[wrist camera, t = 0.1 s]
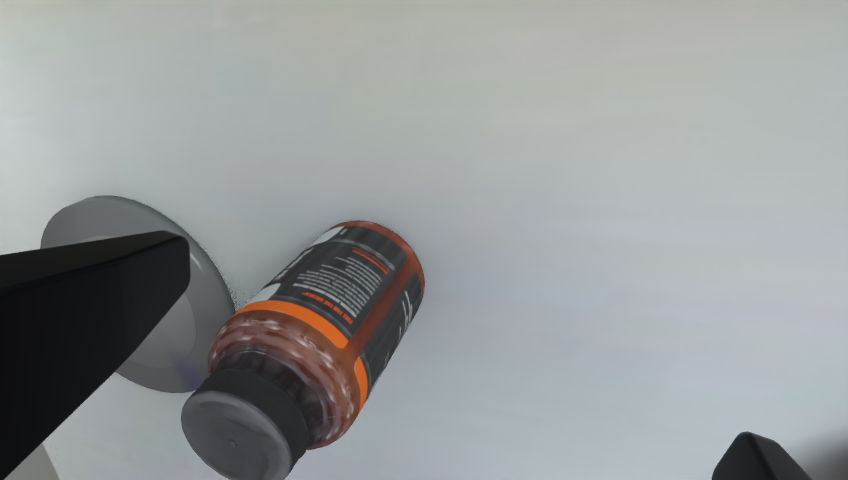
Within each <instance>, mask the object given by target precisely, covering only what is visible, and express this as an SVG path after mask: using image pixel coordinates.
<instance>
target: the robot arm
mask: <svg viewBox="0 0 848 480" xmlns="http://www.w3.org/2000/svg"><path fill="white" fill-rule="evenodd" d="M190 279H191V269H190V245H189V242H188V240H187V238H185V237H184V236H182V235H179V234H176V233H173V232H170V231H167V230H159V231H152V232H146V233H140V234H133V235H127V236H120V237H114V238H108V239H101V240H95V241H88V242H82V243H75V244H69V245H63V246H56V247H50V248H43V249H37V250H31V251H24V252H18V253H11V254H5V255H0V480H4V479H5V478H6V477H7V476H8V475H9V474H10V473H11V472H12V471H13V470H14V469H15V468H16V467H17V466H18V465H19V464H20V463H21V462H22V461H24V459H26V458H27V457H28V456H29V455H30V454H31V453H32V452H33V451H34V450H35V449H36V448H37V447H38V446H39V445H40V444H41V443H42V442H43V441H44V440H45V439H46V438H47V437H48V436H49V435H50V434H51V433H52V432H53V431H54V430H55V429H56V428H57V427H58V426H60V425H61V424H62V423H63V422H64V421H65V420H66V419H67V418H68V417H69V416H70V415H71V414H72V413H73V412H74V411H75V410H76V409H77V408H78V407H79V406H80V405H81V404H82V403H83V402H84V401H85V400H86V399H87V398H88V397H89V396H90V395H91V394H92V393H93V392H94V391H96V390H97V389H98V388H99V387H100V386H101V385H102V384H103V383H104V382H105V381H106V380H107V379H108V378H109V377H110V376H111V375H112V374H113V373H114V372H115V371H116V370H117V369H118V368H119V367H120V366H121V365H122V364H123V363H124V362H125V361H126V360H127V359H128V358H129V357H130V356H131V355H132V353H133V352H134V351H135V350H136V349H137V348H138V347H139V346H140V345H141V343H142V342H143V341H144V340H145V339H146V337H147V336H148V335H149V334H150V333H151V331H152V330H153V329H154V328H155V327H156V326H157V324H158V323H159V322H160V321H161V320H162V318H163V317H164V316H165V315H166V314H167V313H168V311H169V310H170V309H171V308H172V307H173V305H174V304H175V303H176V302H177V301H178V300H179V298H180V297H181V296H182V295H183V294H184V292H185V291H186V289H187V288H188V286H189V283H190ZM712 480H812V479H811V478H810V477H809V476H808V475H807V474H806V472H805V471H804V470H803V469H802V468H801V467H800V466H799V465H798V464H797V463H796V462H795V461H794V460H793V459H792V458H791V456H790V455H789V454H788V453H787V452H786V451H785V450H784V449H783V448H782V447H781V446H780V445H779V444H778V443H777V442H775V441H774V440H771V439H768V438H765V437H763V436H760V435H757V434H754V433H751V432H742V433H740V434H739V435H738V436H737V437H736V438H735V440H734V441H733V443H732V444H731V445H730V447H729V448H728V450H727V451H726V453H725V454H724V456H723V457H722V459H721V460H720V462H719V463H718V464H717V466H716V468H715V470H714V472H713V475H712Z"/></svg>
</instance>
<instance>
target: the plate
mask: <svg viewBox="0 0 848 480" xmlns="http://www.w3.org/2000/svg"><path fill="white" fill-rule="evenodd" d="M159 230H167V231H170V232H173V233H176V234H179V235H182V236H184V237H185V238H187V240H188V242H189V245H190V269H191V279H190V283H189V286H188V288H187V289H186V291H185V292H184V294H183V295H182V296H181V297H180V298H179V300H178V301H177V302H176V303H175V304H174V305H173V307H172V308H171V309H170V310H169V311H168V313H167V314H166V315H165V316H164V317H163V318H162V320H161V321H160V322H159V323H158V324H157V326H156V327H155V328H154V329H153V330H152V331H151V333H150V334H149V335H148V336H147V337H146V339H145V340H144V341H143V342H142V343H141V345H140V346H139V347H138V348H137V349H136V350H135V351H134V352H133V353H132V355H131V356H130V357H129V358H128V359H127V360H126V361H125V362H124V363H123V364H122V365H121V366H120V367H119V368H118V369H117V370H116V371H115V372H116V373H118V374H120V375H121V376H123V377H125V378H127V379H128V380H130V381H133V382H135V383H137V384H139V385H142V386H144V387H147V388H150V389H154V390H158V391H162V392H170V393H183V392H190V391H194V390H197V389H198V388H199V387H200V386H201V385H202V383H203V381H204V380H205V379H206V378H208V377H209V375H208V353H209V349H210V346H211V344H212V342H213V339H214V337H215V336H216V334H217V332H218V331H219V330H220V328H221V327H222V326H223V325H224V324H225V323H226V322H227V321H228V320H229V319H230V318H231V317H232V316H233V315H234V314H235V309H234V305H233V302H232V299H231V296H230V293H229V291H228V289H227V286H226V284H225V282H224V280H223V278H222V277H221V275H220V273H219V271H218V270H217V268H216V266H215V265H214V264H213V262H212V261H211V259H210V258H209V256H208V255H207V254H206V253H205V252H204V250H203V249H202V248H201V247H200V246H199V244H198V243H197V242H196V241H195V240H194V239H193V238H192V237H191V236H190V235H189V234H188V233H187V232H186V231H184V230H183V229H182V228H181V227H180V226H178V225H177V224H176V223H175V222H173V221H172V220H170V219H169V218H167V217H166V216H164V215H163V214H162V213H160V212H158V211H156V210H154V209H152V208H151V207H149V206H147V205H144V204H142V203H139V202H137V201H134V200H130V199H127V198H123V197H116V196H95V197H91V198H87V199H84V200H82V201H80V202H77V203H75V204H72V205H70V206H68V207H65V208H63V209H62V210H60V211H59V212H58V213H56V214H55V215H54V216H53V217H52V219H51V220H50V221H49V222H48V224H47V226H46V228H45V230H44V233H43V236H42V240H41V247H40V249H43V248H50V247H56V246H63V245H69V244H75V243H82V242H88V241H95V240H101V239H108V238H114V237H120V236H127V235H133V234H140V233H146V232H152V231H159Z"/></svg>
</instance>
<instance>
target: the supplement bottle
mask: <svg viewBox="0 0 848 480" xmlns="http://www.w3.org/2000/svg"><path fill="white" fill-rule="evenodd" d="M424 287H425V281H424V274H423V270H422V267H421V265H420V262H419V260H418V258H417V256H416V255H415V253H414V251H413V250H412V249H411V247H410V246H409V245H408V244H407V242H405V241H404V240H403V239H402V238H401V237H400V236H399V235H397V234H396V233H394V232H393V231H391V230H389V229H387V228H385V227H383V226H381V225H379V224H376V223H371V222H367V221H350V222H344V223H341V224H338V225H336V226H334V227H332V228H331V229H329V230H328V231H326V232H325V233H324V234H323V235H321V236H320V237H319V238H318V239H317V240H315V241H314V242H313V243H312V244H311V245H310V246H309V247H308V248H307V249H306V250H304V251H303V252H302V253H301V254H300V255H299V256H298V257H297V258H296V259H295V260H294V261H292V262H291V263H290V264H289V265H288V266H287V267H286V268H285V269H284V270H283V271H282V272H280V273H279V274H278V275H277V276H276V277H275V278H274V279H273V280H272V281H271V282H269V283H268V284H267V285H266V286H265V287H263V288H262V290H261V291H260V292H258V293H257V294H256V295H255V296H254V297H253V298H252V299H251V300H249V301H248V302H247V303H246V304H245V305H244V306H243V307H241V308H240V309H239V310H238V311H237V312H236V313H235V314H234V315H233V316H232V317H231V318H230V319H229V320H228V321H227V322H226V323H225V324H224V325H223V326H222V327H221V328H220V330H219V331H218V332H217V334H216V336H215V337H214V339H213V342H212V344H211V346H210V349H209V353H208V375H209V377H208V378H206V379H205V380H204V381H203V383H202V385H201V386H200V387H199V388H198V389H197V390H196V391H195V392H194V393H193V394H192V395H191V396H190V397H189V399H188V400H187V401H186V403H185V404H184V406H183V408H182V414H181V422H182V429H183V432H184V434H185V436H186V438H187V440H188V442H189V444H190V446H191V447H192V449H193V450H194V451H195V452H196V453H197V455H198V456H199V457H200V458H201V459H202V460H203V461H204V462H205V463H206V464H207V465H208V466H210V467H211V468H212V469H214V470H215V471H216V472H218V473H219V474H221V475H222V476H224V477H226V478H228V479H230V480H284V479H285V478H286V477H287V475H288V474H289V473H290V472H291V470H292V468H293V467H294V465H295V464H296V462H297V461H298V459H299V458H300V457H302V456H303V455H304V453H305V451H306V450H312V449H316V448H320V447H324V446H327V445H329V444H331V443H333V442H334V441H336V440H337V439H339V438H340V437H341V436H343V435H344V434H345V433H346V431H347V430H348V429H349V427H350V426H351V425H352V424H353V422H354V421H355V419H356V417H357V416H358V414H359V412H360V411H361V409H362V407H363V405H364V403H365V402H366V400H367V399H368V397H369V395H370V393H371V392H372V390H373V388H374V386H375V385H376V383H377V381H378V379H379V378H380V376H381V374H382V372H383V371H384V369H385V368H386V366H387V364H388V362H389V360H390V359H391V357H392V355H393V353H394V351H395V349H396V348H397V346H398V344H399V343H400V341H401V339H402V337H403V335H404V334H405V332H406V330H407V328H408V327H409V325H410V323H411V321H412V319H413V318H414V316H415V314H416V312H417V311H418V308H419V306H420V304H421V301H422V298H423V294H424Z"/></svg>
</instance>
